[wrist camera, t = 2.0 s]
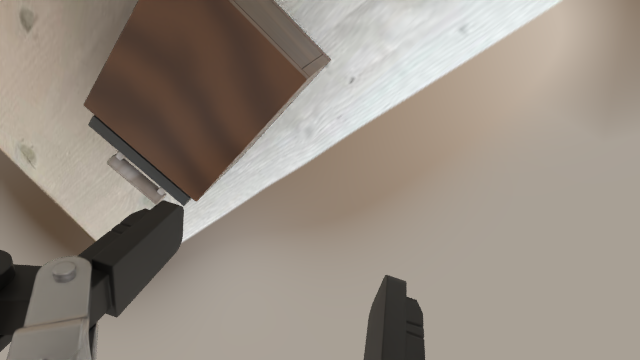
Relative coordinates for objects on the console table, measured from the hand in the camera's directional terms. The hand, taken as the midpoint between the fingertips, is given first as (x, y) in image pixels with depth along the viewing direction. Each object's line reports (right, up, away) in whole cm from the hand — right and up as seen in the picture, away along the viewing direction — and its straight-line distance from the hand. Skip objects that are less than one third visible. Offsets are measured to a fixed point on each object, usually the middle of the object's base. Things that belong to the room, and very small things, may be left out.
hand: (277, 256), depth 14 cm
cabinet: (-6, +13, +20) cm, 25 cm away
